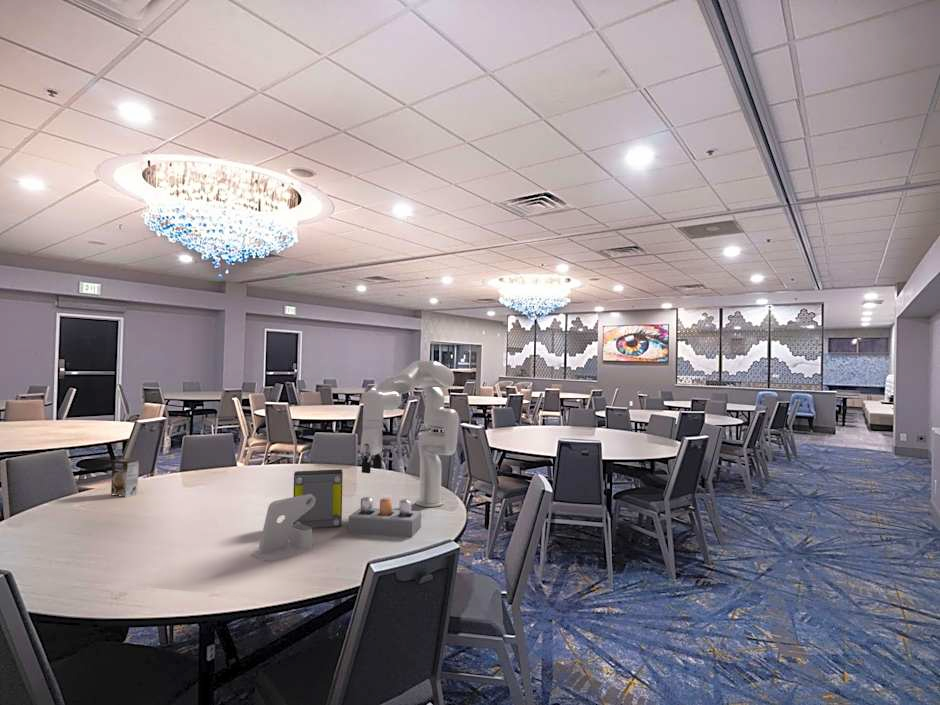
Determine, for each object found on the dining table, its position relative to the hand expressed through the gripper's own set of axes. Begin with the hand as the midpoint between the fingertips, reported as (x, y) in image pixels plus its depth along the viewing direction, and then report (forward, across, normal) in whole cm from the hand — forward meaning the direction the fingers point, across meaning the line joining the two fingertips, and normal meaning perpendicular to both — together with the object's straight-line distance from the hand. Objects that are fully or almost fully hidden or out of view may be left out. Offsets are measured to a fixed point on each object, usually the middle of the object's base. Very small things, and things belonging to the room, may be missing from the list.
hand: (371, 470), depth 195 cm
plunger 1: (+16, -1, -2) cm, 16 cm away
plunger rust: (+16, -2, +5) cm, 17 cm away
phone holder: (+23, +28, -18) cm, 40 cm away
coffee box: (+22, -16, -129) cm, 132 cm away
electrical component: (+22, 0, -22) cm, 31 cm away
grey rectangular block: (+22, -2, +5) cm, 23 cm away
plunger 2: (+16, -2, +13) cm, 21 cm away
